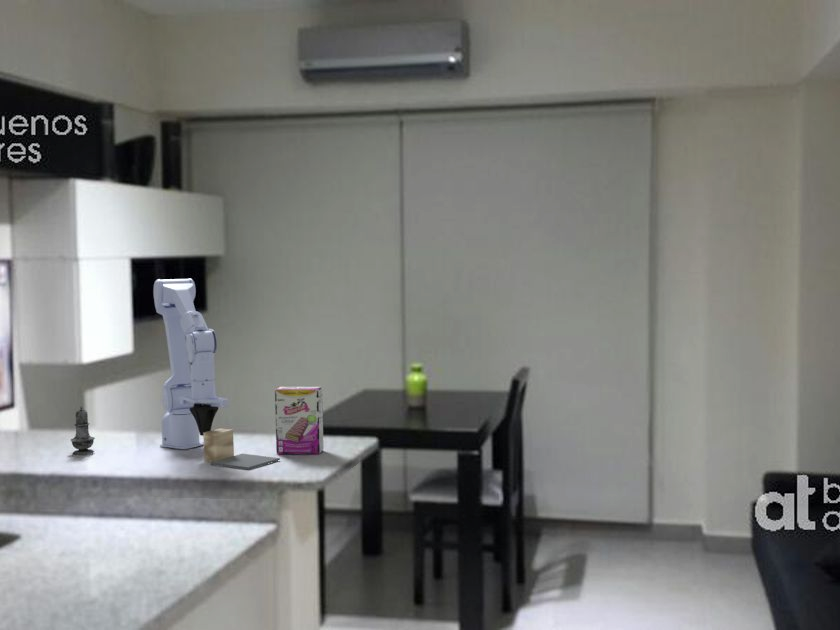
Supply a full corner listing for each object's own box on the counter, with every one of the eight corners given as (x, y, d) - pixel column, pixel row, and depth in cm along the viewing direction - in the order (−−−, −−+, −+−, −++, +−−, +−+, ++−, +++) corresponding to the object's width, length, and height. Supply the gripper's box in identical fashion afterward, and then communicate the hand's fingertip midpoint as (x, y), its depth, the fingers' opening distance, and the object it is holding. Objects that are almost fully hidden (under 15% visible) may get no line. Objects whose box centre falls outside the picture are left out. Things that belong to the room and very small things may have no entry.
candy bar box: (275, 454, 234) (273, 389, 233) (280, 450, 239) (278, 386, 238) (320, 454, 233) (318, 388, 232) (324, 450, 238) (322, 385, 237)
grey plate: (210, 464, 224) (210, 462, 224) (242, 455, 233) (242, 453, 233) (248, 469, 218) (248, 467, 218) (279, 460, 227) (279, 458, 227)
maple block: (204, 461, 229) (203, 432, 228) (222, 456, 234) (221, 428, 233) (216, 462, 226) (215, 433, 226) (234, 457, 231) (232, 429, 231)
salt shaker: (99, 452, 242) (97, 405, 241) (77, 456, 238) (75, 408, 237) (88, 449, 246) (86, 403, 245) (66, 453, 242) (64, 406, 241)
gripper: (169, 380, 232) (172, 435, 233) (212, 383, 224) (214, 440, 225) (191, 376, 238) (193, 430, 238) (233, 379, 230) (235, 435, 231)
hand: (205, 434), depth 232 cm, fingers closed
